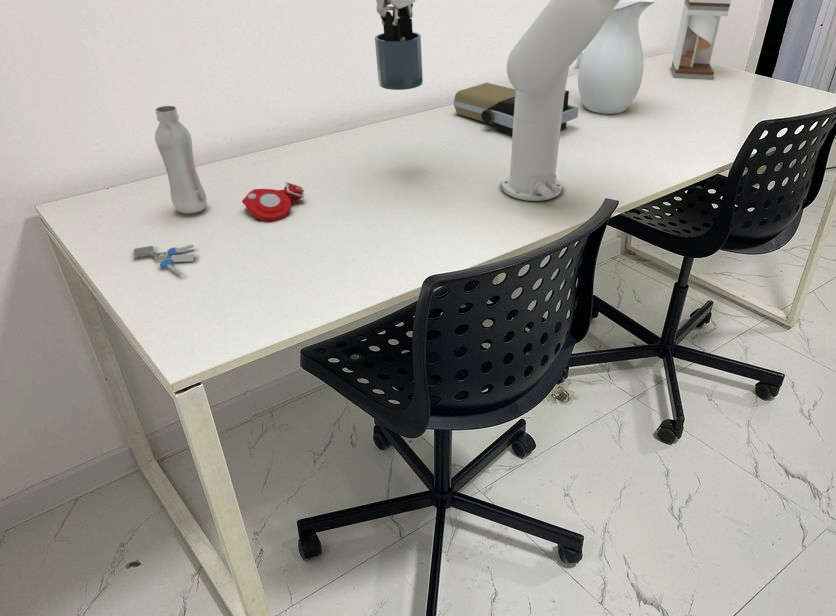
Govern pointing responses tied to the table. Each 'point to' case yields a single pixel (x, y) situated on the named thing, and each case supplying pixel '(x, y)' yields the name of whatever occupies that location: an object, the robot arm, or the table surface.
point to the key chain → (166, 263)
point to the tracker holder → (272, 201)
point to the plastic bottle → (179, 161)
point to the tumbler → (399, 63)
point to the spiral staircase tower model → (697, 38)
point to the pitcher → (613, 61)
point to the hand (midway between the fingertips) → (399, 42)
